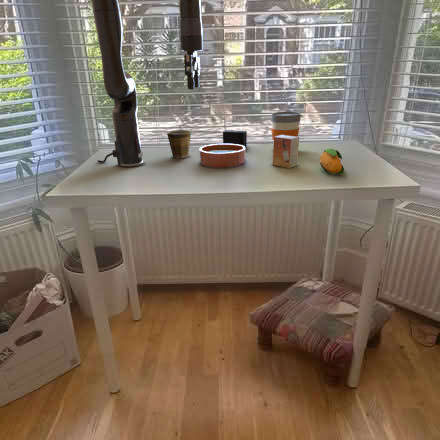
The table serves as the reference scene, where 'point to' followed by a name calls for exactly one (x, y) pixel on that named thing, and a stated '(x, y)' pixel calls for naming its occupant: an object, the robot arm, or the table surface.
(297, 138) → the small box
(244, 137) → the digital camera
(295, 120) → the reusable coffee cup
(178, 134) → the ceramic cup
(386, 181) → the table surface
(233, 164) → the bowl
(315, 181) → the table surface
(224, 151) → the cucumber
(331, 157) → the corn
